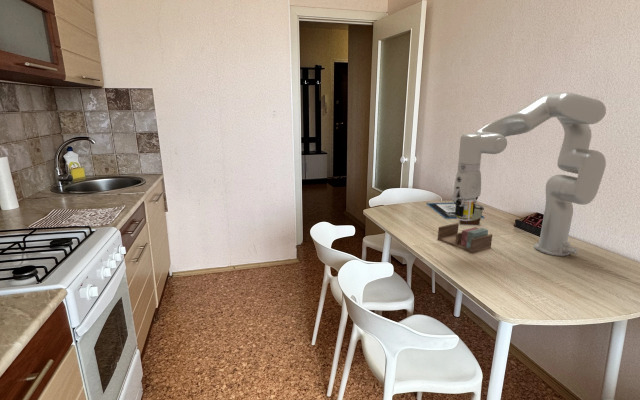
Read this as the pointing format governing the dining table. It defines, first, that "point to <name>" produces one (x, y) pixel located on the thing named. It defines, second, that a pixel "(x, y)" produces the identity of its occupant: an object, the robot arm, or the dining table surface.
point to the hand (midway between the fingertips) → (464, 214)
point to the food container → (474, 216)
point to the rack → (465, 238)
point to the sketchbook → (445, 209)
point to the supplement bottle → (467, 210)
